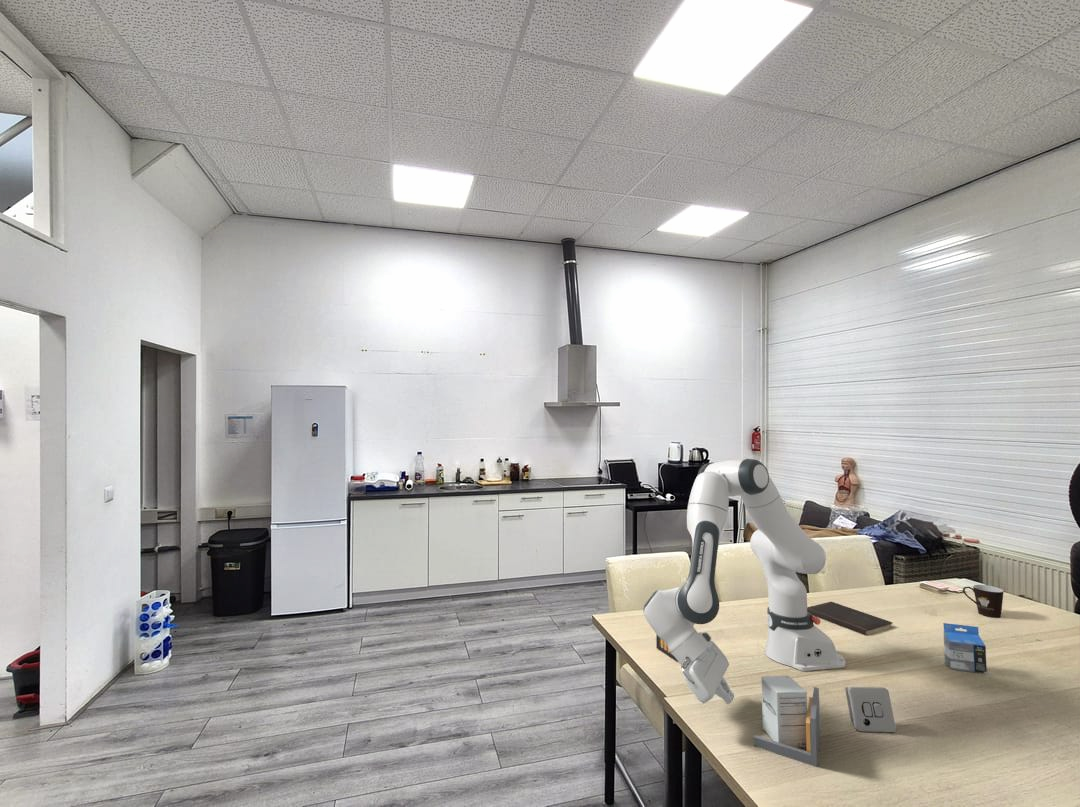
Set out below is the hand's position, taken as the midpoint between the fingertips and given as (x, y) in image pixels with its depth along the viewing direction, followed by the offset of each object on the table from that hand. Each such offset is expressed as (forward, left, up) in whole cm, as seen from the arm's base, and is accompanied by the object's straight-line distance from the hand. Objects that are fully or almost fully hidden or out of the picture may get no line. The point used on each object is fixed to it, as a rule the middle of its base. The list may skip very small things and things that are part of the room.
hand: (731, 700), depth 119 cm
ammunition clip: (+8, -35, -5) cm, 36 cm away
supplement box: (-10, +6, -5) cm, 13 cm away
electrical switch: (-33, 0, -5) cm, 33 cm away
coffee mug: (-122, -73, -5) cm, 142 cm away
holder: (-11, +6, -5) cm, 13 cm away
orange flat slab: (-15, +8, -4) cm, 18 cm away
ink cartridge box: (-79, -29, -5) cm, 84 cm away
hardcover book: (-65, -65, -6) cm, 92 cm away
